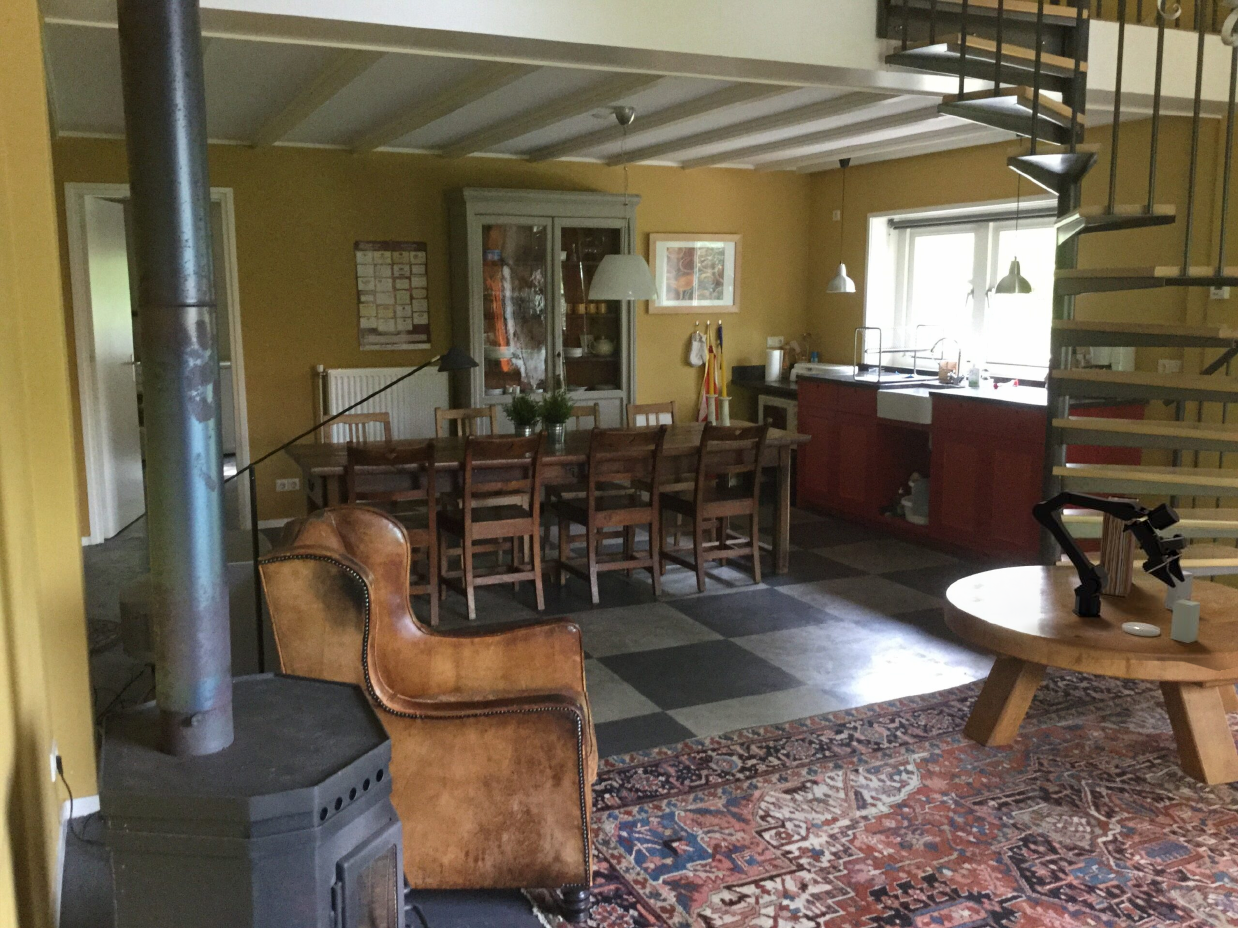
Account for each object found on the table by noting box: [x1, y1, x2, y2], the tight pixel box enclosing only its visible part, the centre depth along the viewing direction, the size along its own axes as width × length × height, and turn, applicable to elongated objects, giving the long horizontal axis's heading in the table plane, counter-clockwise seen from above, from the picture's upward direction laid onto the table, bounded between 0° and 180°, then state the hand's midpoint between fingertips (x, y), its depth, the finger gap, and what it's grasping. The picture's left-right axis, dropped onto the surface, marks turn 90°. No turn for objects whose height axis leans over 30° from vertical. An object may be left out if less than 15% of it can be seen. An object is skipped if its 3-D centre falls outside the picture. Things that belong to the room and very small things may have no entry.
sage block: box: [1170, 599, 1201, 644], centre depth 299 cm, size 5×5×11 cm
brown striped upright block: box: [1098, 495, 1140, 599], centre depth 354 cm, size 25×9×30 cm, turn 151°
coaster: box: [1121, 621, 1161, 637], centre depth 307 cm, size 10×10×1 cm
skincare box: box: [1164, 570, 1194, 611], centre depth 330 cm, size 6×4×12 cm
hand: (1179, 584), depth 305 cm, fingers open, 9 cm apart
